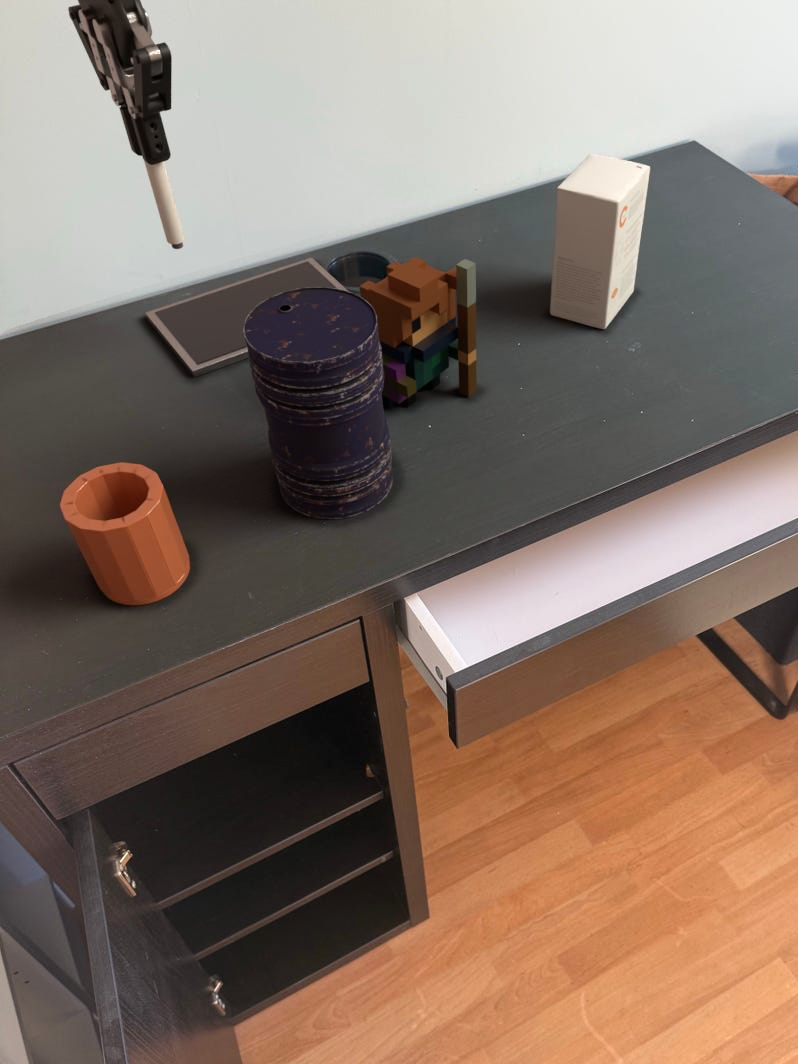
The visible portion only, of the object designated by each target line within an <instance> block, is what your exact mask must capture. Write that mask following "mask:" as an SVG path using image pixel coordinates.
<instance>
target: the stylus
mask: <svg viewBox="0 0 798 1064" xmlns="http://www.w3.org/2000/svg"><path fill="white" fill-rule="evenodd" d="M134 92H135V90H134ZM131 116H132V115H131ZM143 162H144V165H145V169H146V173H147V177H148V179H149V183H150V186H151V190H152V193H153V197H154V201H155V204H156V208H157V212H158V214H159V217H160V222H161V225H162V228H163V233H164V235H165V239H166V243H168V244H170V245H171V248H172V249H174V250H180V249H182V248H183V247H184V242H185V240H186V238H185V234H184V231H183V226H182V223H181V219H180V215H179V212H178V208H177V207H178V206H177V204H176V200H175V197H174V192H173V189H172V185H171V181H170V178H169V174H168V171H167V167H166V163H165V161H164V162H161V163H157V164H154V165H150V164H148V163H147V162H146V161H145V160H144V159H143Z"/></svg>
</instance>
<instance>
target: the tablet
mask: <svg viewBox="0 0 798 1064" xmlns="http://www.w3.org/2000/svg"><path fill="white" fill-rule="evenodd" d="M307 287H329V288H337V289H341V290H346V291H349V290H348V289H347V288H346V287H345V286H343V284H341V283H340V282H339V281H338V280H337V279H336V278H335V277H334V276H332V275H331V274H330V273H329V272H328V270H326V269H325V268H324V267H323V266H322V265H320V263H318V262H317V261H316V260H315V259H314V258H313V257H308V258H306V259H302V260H299V261H297V262H294V263H290V264H287V265H284V266H281V267H278V268H275V269H272V270H269V271H266V272H264V273H260V274H257V275H253V276H252V277H248V278H245V279H242V280H238V281H235V282H233V283H230V284H227V285H223V286H221V287H218V288H215V289H211V290H209V291H206V292H203V293H200V294H197V295H194V296H191V297H188V298H184V299H182V300H178V301H176V302H173V303H170V304H167V305H164V306H161V307H158V308H155V309H152V310H149V311H146V312H145V314H144V315H145V316H146V320H147V321H148V322H149V324H150V325H151V326H152V327H153V329H154V330H155V331H156V332H157V334H159V336H160V337H161V339H162V340H163V341H164V342H165V344H167V346H168V347H169V348H170V350H171V351H172V352H173V353H174V354H175V356H176V357H177V358H178V359H179V361H180V362H181V363H182V364H183V366H184V367H185V368H186V369H187V371H188V372H189V373H190V374H191V375H192V377H193V378H197V377H200V376H203V375H205V374H208V373H211V372H214V371H217V370H219V369H222V368H225V367H228V366H230V365H233V364H235V363H239V362H241V361H243V360H246V359H249V353H248V347H247V345H246V341H245V336H244V331H243V328H244V322H245V320H246V318H247V316H248V314H249V313H250V312H251V311H252V310H253V309H254V308H255V307H256V306H257V305H258V304H260V303H261V302H263V301H264V300H266V299H268V298H270V297H272V296H274V295H277V294H279V293H282V292H286V291H289V290H294V289H299V288H307Z"/></svg>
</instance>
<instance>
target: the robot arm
mask: <svg viewBox="0 0 798 1064" xmlns="http://www.w3.org/2000/svg"><path fill="white" fill-rule="evenodd" d="M77 2H78V4H76V5H72V6H68V7H67V9H68V15H69V19H70V20H71V21H72V24H73V25H74V28H75V30H76V32H77V34H78V37H79V39H80V41H81V43H82V45H83V48H84V51H85V52H86V55H87V56H88V59H89V61H90V63H91V65H92V67H93V70H94V73H95V74H96V76H97V79H98V81H99V84H100V86H101V87H102V89H103V90H104V91H106V92H107V91H109V92H110V95H111V96H110V97H111V99H112V101H113V102H114V104H115V106H116V107H118V109H119V111H120V115H121V118H122V122H123V125H124V128H125V132H126V135H127V139H128V142H129V146H130V150H131V152H133V153H134V154H135V155H137V156H138V157H141V158H142V159H143V161H144V160H145V161H146V162H147V163H148V164H150V165H154V164H157V163H161V162H164V163H165V162H167V161H168V160H170V159H171V150H170V146H169V141H168V138H167V134H166V131H165V127H164V123H163V119H162V116H161V112H167V111H171V110H172V73H173V72H172V70H173V69H172V66H173V65H172V58H173V57H172V51H171V50H170V49H171V48H170V46H169V45H168V44H167V43H166V42H165V41H164V42H160V43H155V41H154V40H153V39H152V35H153V30H152V25H151V23H150V22H151V21H150V18H149V15H148V13H147V10H146V9H145V8H144V7H143V4H142V1H141V0H77ZM134 90H135V92H134ZM131 115H132V116H131Z"/></svg>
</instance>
